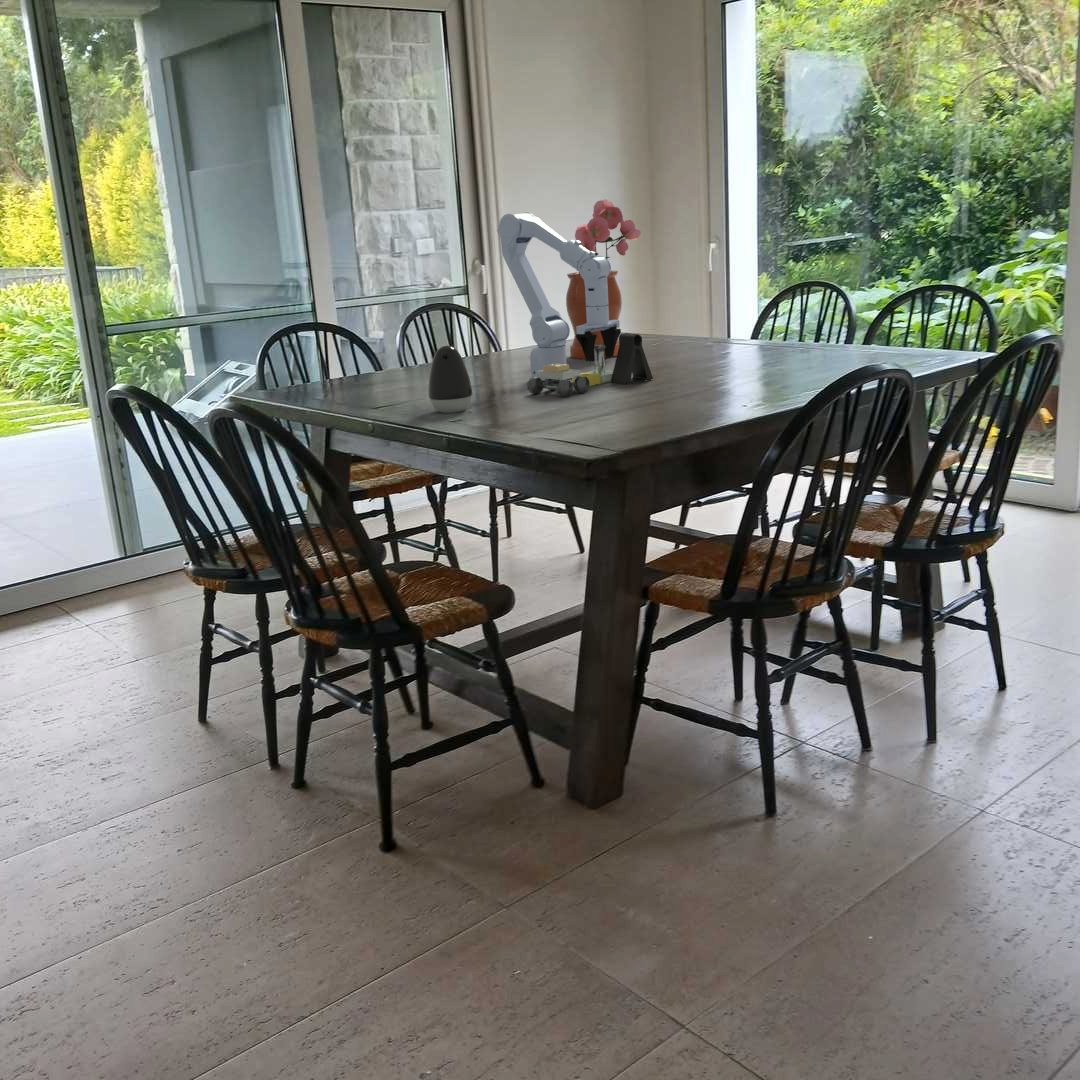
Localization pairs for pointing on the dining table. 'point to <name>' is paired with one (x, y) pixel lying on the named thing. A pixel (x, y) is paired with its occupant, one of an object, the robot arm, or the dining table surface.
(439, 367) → the egg shaped device
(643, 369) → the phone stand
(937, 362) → the dining table surface
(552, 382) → the toy rover
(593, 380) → the pin socket
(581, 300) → the potted flower
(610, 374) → the tray
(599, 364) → the stop pin
